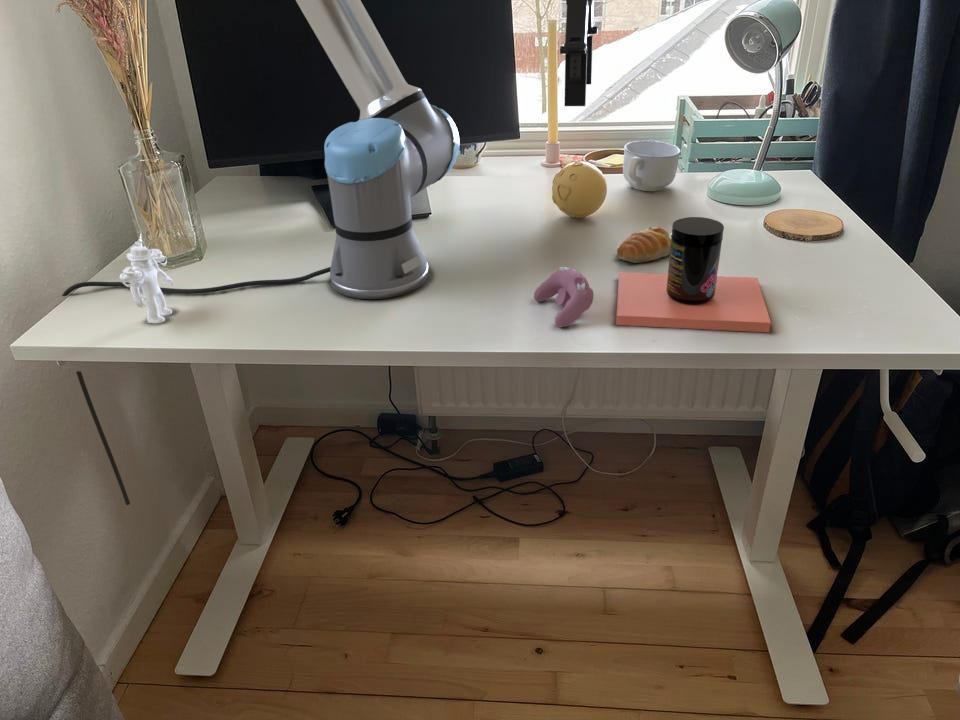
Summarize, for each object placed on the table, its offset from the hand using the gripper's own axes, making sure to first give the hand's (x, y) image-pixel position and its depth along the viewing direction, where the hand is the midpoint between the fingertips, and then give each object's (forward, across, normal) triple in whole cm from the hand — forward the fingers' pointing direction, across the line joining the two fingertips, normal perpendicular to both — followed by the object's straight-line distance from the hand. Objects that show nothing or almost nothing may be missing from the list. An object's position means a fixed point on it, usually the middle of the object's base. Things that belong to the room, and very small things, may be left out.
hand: (578, 94), depth 105 cm
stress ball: (+27, +24, +1) cm, 36 cm away
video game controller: (+27, -14, 0) cm, 30 cm away
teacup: (+27, +40, -11) cm, 49 cm away
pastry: (+27, +7, -11) cm, 30 cm away
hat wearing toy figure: (+27, -22, +59) cm, 68 cm away
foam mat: (+27, -10, -17) cm, 33 cm away
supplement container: (+25, -10, -17) cm, 32 cm away
